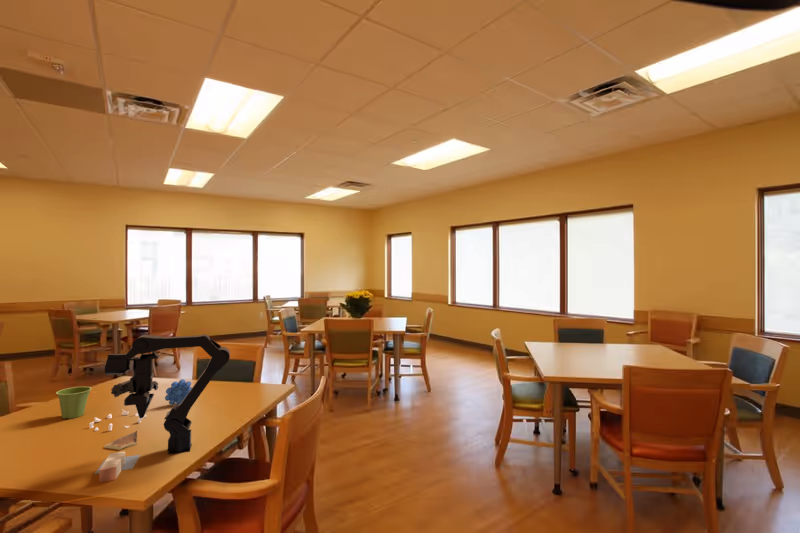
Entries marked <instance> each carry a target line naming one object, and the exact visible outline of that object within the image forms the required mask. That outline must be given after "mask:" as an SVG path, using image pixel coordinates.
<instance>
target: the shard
mask: <svg viewBox="0 0 800 533" xmlns="http://www.w3.org/2000/svg"><path fill="white" fill-rule="evenodd" d="M137 445H138V431H137V430H136V431H134V432H131V433H129V434H126V435H124V436H121V437H118V438H117V439H114V440H112V441H110V442H107V443H106V444H105V445H104V446H103V447H104V449H111V450H117V451H118V450H119V451H122V450H123V449H125V448H128V447H133V446H137Z"/></svg>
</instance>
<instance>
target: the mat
mask: <svg viewBox="0 0 800 533" xmlns="http://www.w3.org/2000/svg"><path fill="white" fill-rule="evenodd" d="M140 457H141V454H136V455H127V456H125V464H124V466H123V468H122V470H121V471H126V470H131V469H134V468H135V465H136V464H137V462H138V461H139V458H140ZM105 461H106V459H104V460H103V462H102V463H101V464H100V466H99V467H98V468H97V470H96V471H95V473H94V475H98V474H99V470H100V469H101V467H102V465H103V464H104V462H105Z"/></svg>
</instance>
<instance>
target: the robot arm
mask: <svg viewBox="0 0 800 533" xmlns="http://www.w3.org/2000/svg"><path fill="white" fill-rule="evenodd" d="M197 347H200V348H201V349H203V350H204V352H205V353H206V354H207V355H208V356H209V357H210V360H209V362H208V364H207V366H206V368H205V369H204V371H203V372H202V373H201V375H200V376H199V377H198V379H197V380H196V382H195V383H194V384H193V386H191V387H192V389H191V390H190V391H189V393H188V394H187V396H186V397H185V398H184V400H183V401H182V402H181V403H180V404H179V405H177V404H176V403H174V404H173V405H172V407H171V409H170V410H169V411H167V413H166V415H165V417H164V418H163V419H164V422H163V427H164V430H165V431H167V432H168V433H169V437H168V440H167V452H168V455H176V454H183V453H189V452H190V451H191V449H192V444H193V443H192V429H190V428H191V425H192V422H193V421H191V420H190V419H189V418H188V417H187V416H188V414H189V413H190V410H191V408H192V407H193V406H194V404H195V403H196V401H197V400H198V399H199V397H200V396H201V395H202V393H203V391H204V390H205V389H206V387H207V386H208V385H209V383H210V381H211V380H212V379H213V377H214V376H215V375H216V374H217V373H218V372H219V371H221V369H223V367H224V366H226V365H227V363H228V362H229V361H230V357H231V351H230V349H229V348H228V347H226V346H222V345H220V344H219V343H218V342H217V341H215V340H213V339H212V338H211V337H210V336H209V335H208V334H206V333H205V334H200V335H185V336H183V335H182V336H160V335H155V334H154V335H152V334H142V335H140V336H139V337H137V338H135V339H134V340H133V342H132V344H131V348H130V349H129V350H128V351H127V352H126V353H110V354H108V355H107V359H106V363H105V365H104V374H105V375H106V376H107V375H109V376H110V375H122V374H123V375H124V374H127V373H128V372H129V371H132V376H131V377H130V378H129V380H126V381H124V382H119V383H118V384H114V385H113V387H111V389H110V390H111V392H110V393H111V395H113V396H114V398H118V397H119V396H122V395H124V394H126V393H128V395H127V396H126V397H125V398H124V399H123V401H124V402H123V406H125V407H126V406H135V408H136V412H137V411H138V415H139V416H138V417H139V418H143V417H144V415H146V413H147V411H148V409H149V407H150V404H151V402H152V400H153V398H154V396H155V393H150V392H151V391H152V390H154V391H157V390H158V389H159V382H157V381H156V380H153V379H154V376H155V372H154V360H158V359H159V358H160V357H161V355H160V354H158V351H161V350H165V349H179V348H182V349H183V348H197ZM139 354H140V356H137V355H139ZM143 419H144V418H143Z"/></svg>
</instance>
